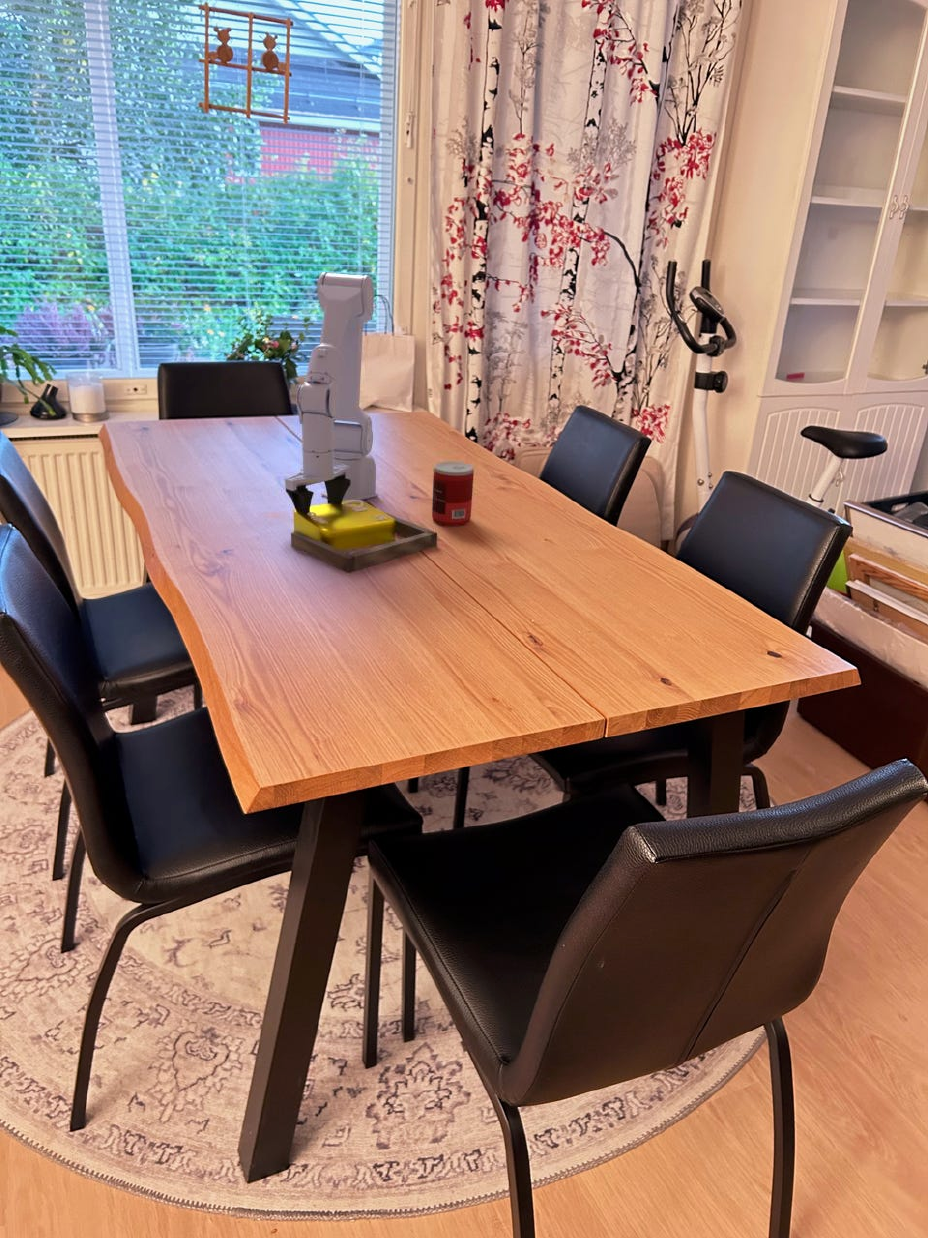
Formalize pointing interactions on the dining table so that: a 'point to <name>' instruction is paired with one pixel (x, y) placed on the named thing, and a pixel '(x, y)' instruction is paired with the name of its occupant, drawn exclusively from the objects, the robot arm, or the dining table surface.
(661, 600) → the dining table surface
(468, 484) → the canned food
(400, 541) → the walnut holder
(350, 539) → the element tile
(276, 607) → the dining table surface
